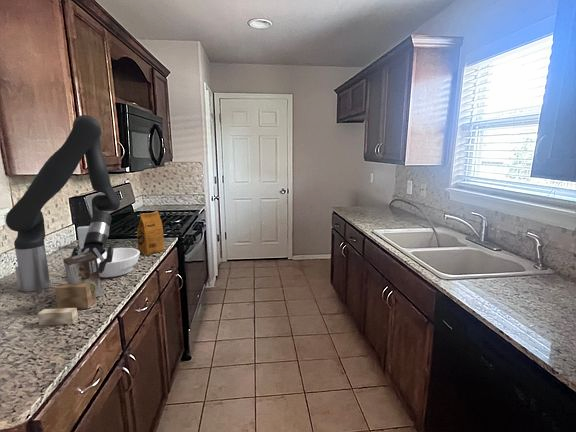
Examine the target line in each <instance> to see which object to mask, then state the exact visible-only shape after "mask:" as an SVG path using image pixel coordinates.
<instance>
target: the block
mask: <svg viewBox="0 0 576 432" xmlns="http://www.w3.org/2000/svg"><path fill="white" fill-rule="evenodd" d="M54 291H55V293H54V294H55V300H56V306H57V309H59V308H77V310H79V309H81V310H82V309H90V307H92V306H93V304H95V303H96V302H97V297H95V294H91V287H90V283H84V284H68V283H63V284H57V286H55V287H54Z"/></svg>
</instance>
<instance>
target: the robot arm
mask: <svg viewBox="0 0 576 432" xmlns="http://www.w3.org/2000/svg"><path fill="white" fill-rule="evenodd" d="M101 135H102V126H101V125H100V123H99V121H98V120H97V119H95V118H94V117H93V116H92V115H91V116H90V115H87V114H81V115H79V116H77V117H76V118H75V119H74V120H73V122H72V129H70V133H69V134H68V136H67V138H66V139H65V141H64V143H63V144H62V145H61V147H59V148H58V150H56V151H55V152H54V153H53V154H52V155H51V156H50V157H49V158H48V159H47V160H46V161H45V163H44V164H43V166H42V167H41V168H40V170H39V171H38V172H37V175H36V176H35V177H34V179H33V180H32V181H31V183H30V185H29V187H28V188H27V189H26V191H25V193H24V194H23V195H22V196H21V198H20V199H19V200H18V201H17V202H16V203H15V204H14V206H12V208H11V209H10V210H9V211H8V212H7V214H6V216H5V224H6V227H8V229H9V230H11V231H14V232H17V236H16V238H15V240H14V241H13V244H14V252H15V257H16V263H17V266H16V267H15V274H16V280H17V285H18V291H22V292H26V293H28V292H29V293H30V292H36V291H37V292H38V291H42V290H45V289H46V288H48V287H50V286H51V279H50V272H49V265H48V259H47V251H46V246H45V239H46V229H45V228H46V227H45V218H44V215H43V212H42V209H43V207H44V206H45V205H46V204H47V203H48V202H49V201H50V200H51V199H53V198H54V196H56V195H57V194H58V193H59V192H60V191H61V190H62V189H63V188H64V187H65V186H66V184H67V183H68V181H69V180H70V178H71V177H72V175H73V174H74V173H75V170H76V169H77V168H78V166H79V164H80V162H81V161H82V158H83V157H85V162H86V168H87V169H86V170H87V172H88V176H89V177H88V178H89V180H90V183H91V187H92V190H93V191H95V192H99V193H102V194H96V195H95V196H93V197H92V199H91V213H92V214H91V215H92V216H91V220H90V222H89V225H88V226H89V228H88V231H87V235H86V238H85V242H84V247H83V248H82V249H80V248H76V247H75V248H73V250H72V253H71V255H70V257H72V256H76V255H80V254H83V253H87V252H91V253H92V254H94V256H96V257H97V259H98V258H99V259H100V260H101V262H100V264H99V268H98V269H99V273H102V272H103V271H104V269H105V265H106V263H108V262H109V263H111V262H112V257H113V249H114V248H113V246H111V245H110V246H109V245H108V247H106V246H107V243H108V238H109V236H110V228H111V224H112V215H111V214H110V213H109V212H115V211H118V210H119V208H120V207H121V202H120V201H121V200H120V198H119V196H118V194H117V192H116V191H115V190H114V187H113V186H112V183H111V179H110V175H109V171H108V168H107V164H106V161H105V158H104V155H103V151H102V147H101V138H100V137H101ZM105 251H106V252H107V256H106V259H104V258H103V256H102V254H103V253H105Z"/></svg>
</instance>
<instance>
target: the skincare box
mask: <svg viewBox="0 0 576 432" xmlns="http://www.w3.org/2000/svg"><path fill="white" fill-rule="evenodd" d="M89 226H90V225H84V226H77V228H76V232H77V238H78V239H77V240H78V247H79V249H82V248H83V247H84V242H85V238H86V235H87V231H88V228H89Z"/></svg>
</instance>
